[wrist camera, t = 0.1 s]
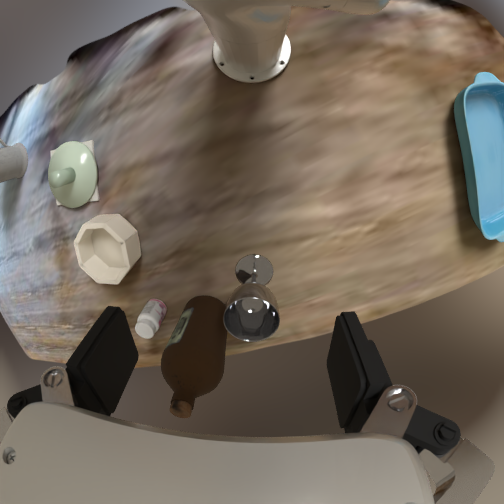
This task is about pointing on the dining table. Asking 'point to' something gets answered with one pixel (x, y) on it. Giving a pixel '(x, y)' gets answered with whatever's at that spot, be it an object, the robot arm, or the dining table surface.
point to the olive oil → (195, 353)
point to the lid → (73, 174)
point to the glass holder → (12, 161)
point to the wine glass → (252, 301)
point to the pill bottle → (150, 318)
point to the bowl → (107, 248)
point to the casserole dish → (483, 151)
